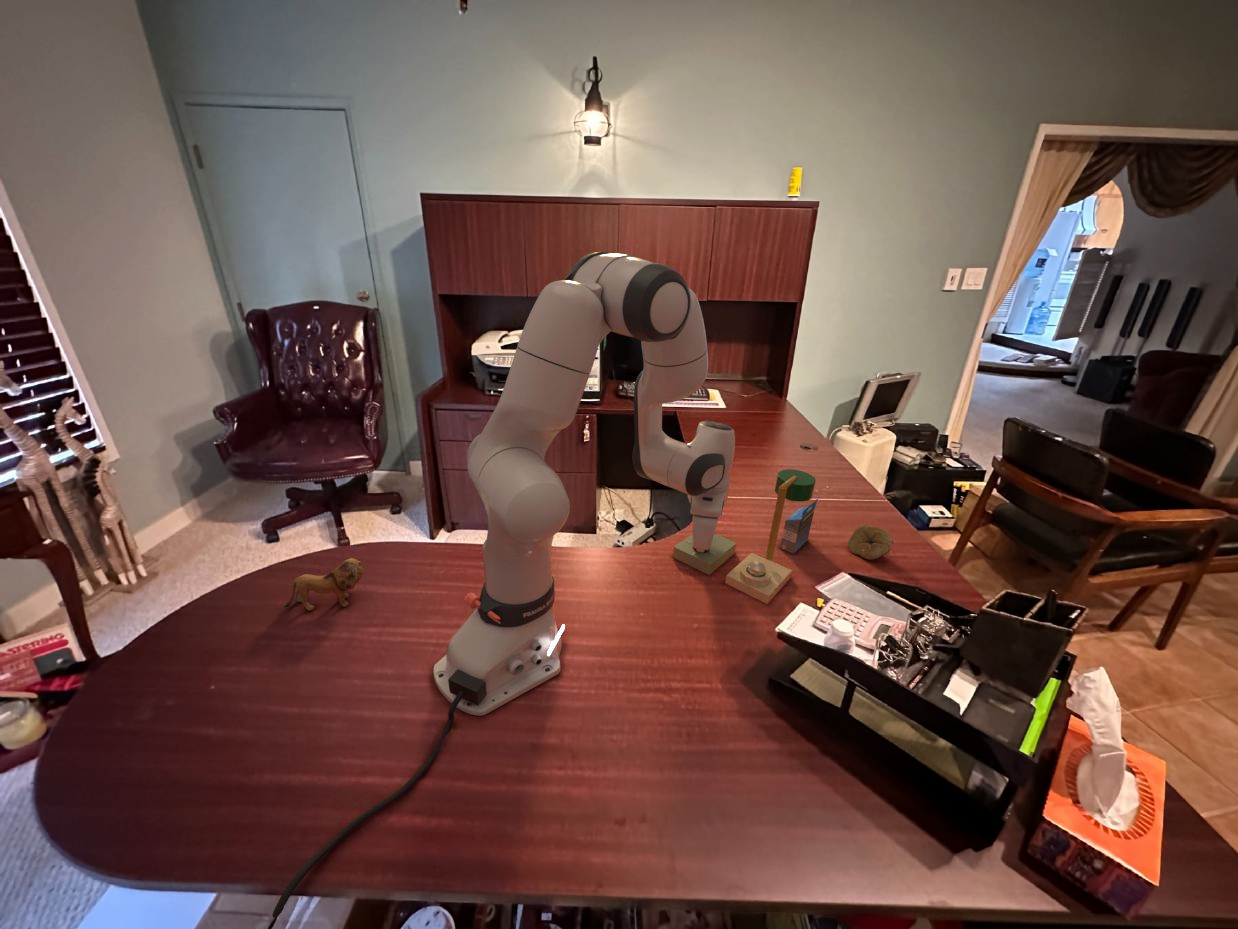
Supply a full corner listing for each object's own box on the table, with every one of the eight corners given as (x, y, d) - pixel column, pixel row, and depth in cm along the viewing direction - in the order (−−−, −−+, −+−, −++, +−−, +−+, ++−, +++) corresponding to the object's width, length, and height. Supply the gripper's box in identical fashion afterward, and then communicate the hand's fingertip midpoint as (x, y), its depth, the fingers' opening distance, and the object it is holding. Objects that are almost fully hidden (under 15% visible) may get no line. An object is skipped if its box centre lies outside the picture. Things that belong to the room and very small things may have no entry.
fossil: (857, 520, 125) (898, 530, 117) (863, 528, 127) (903, 539, 119) (842, 550, 123) (882, 562, 115) (848, 558, 125) (888, 571, 117)
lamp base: (767, 604, 103) (770, 588, 101) (724, 583, 109) (727, 568, 107) (790, 578, 111) (793, 563, 110) (750, 560, 117) (752, 545, 115)
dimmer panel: (708, 575, 111) (710, 564, 110) (672, 557, 117) (673, 546, 115) (734, 553, 119) (736, 542, 118) (699, 537, 125) (701, 526, 124)
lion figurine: (369, 587, 102) (362, 550, 99) (367, 603, 98) (359, 566, 94) (287, 601, 98) (276, 563, 94) (281, 619, 93) (269, 580, 89)
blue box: (793, 534, 128) (803, 492, 123) (808, 540, 126) (818, 498, 121) (778, 548, 122) (788, 504, 117) (794, 555, 120) (804, 510, 115)
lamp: (784, 567, 108) (801, 492, 101) (751, 552, 113) (764, 479, 105) (804, 545, 117) (821, 474, 109) (773, 532, 121) (787, 463, 113)
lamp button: (759, 579, 104) (760, 573, 104) (744, 572, 107) (745, 566, 106) (766, 572, 107) (768, 565, 106) (751, 565, 109) (753, 558, 108)
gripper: (696, 470, 119) (690, 520, 125) (690, 511, 101) (683, 567, 106) (723, 473, 118) (715, 523, 124) (721, 515, 100) (713, 571, 105)
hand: (701, 544), depth 115 cm, fingers closed on dimmer knob, 4 cm apart
